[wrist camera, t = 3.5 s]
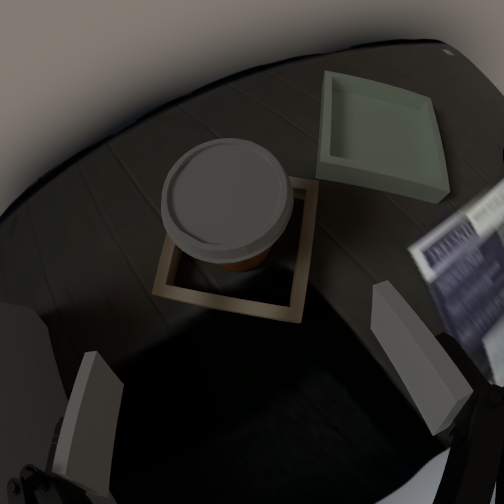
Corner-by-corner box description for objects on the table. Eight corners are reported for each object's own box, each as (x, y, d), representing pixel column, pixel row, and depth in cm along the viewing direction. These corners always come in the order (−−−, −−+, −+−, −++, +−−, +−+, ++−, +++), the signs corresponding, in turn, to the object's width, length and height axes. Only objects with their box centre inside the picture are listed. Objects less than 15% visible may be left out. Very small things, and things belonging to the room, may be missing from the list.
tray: (422, 112, 34) (430, 98, 31) (436, 204, 30) (450, 192, 27) (321, 88, 36) (324, 70, 33) (315, 178, 32) (319, 161, 29)
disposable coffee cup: (279, 294, 29) (286, 268, 17) (187, 280, 30) (139, 247, 18) (290, 207, 31) (300, 139, 20) (205, 197, 32) (175, 131, 21)
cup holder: (315, 191, 32) (319, 181, 29) (298, 323, 28) (301, 322, 25) (192, 176, 33) (187, 164, 31) (160, 297, 29) (151, 294, 27)
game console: (87, 502, 22) (-1, 559, 3) (20, 321, 29) (-94, 297, 10) (118, 504, 22) (30, 577, 3) (45, 310, 30) (-81, 278, 11)
